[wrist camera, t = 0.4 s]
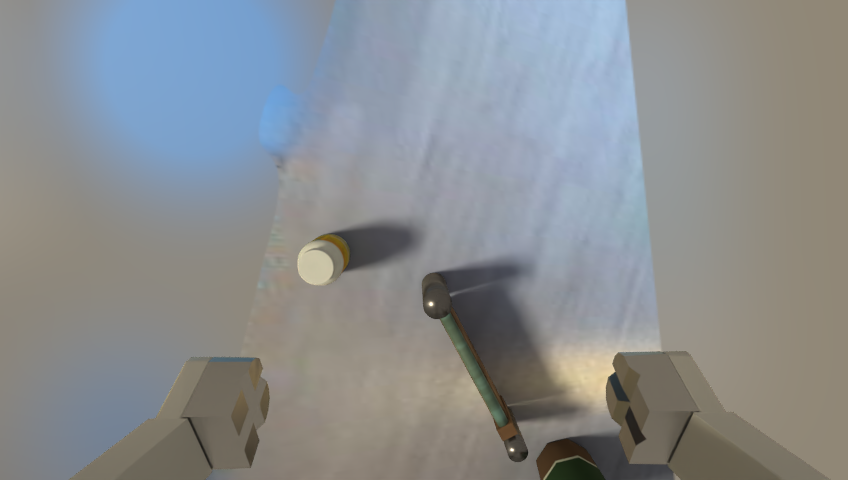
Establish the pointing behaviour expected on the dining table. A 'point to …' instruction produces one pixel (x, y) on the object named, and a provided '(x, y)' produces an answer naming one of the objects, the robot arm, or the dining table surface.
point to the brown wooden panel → (479, 376)
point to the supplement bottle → (323, 259)
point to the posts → (439, 307)
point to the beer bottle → (567, 462)
